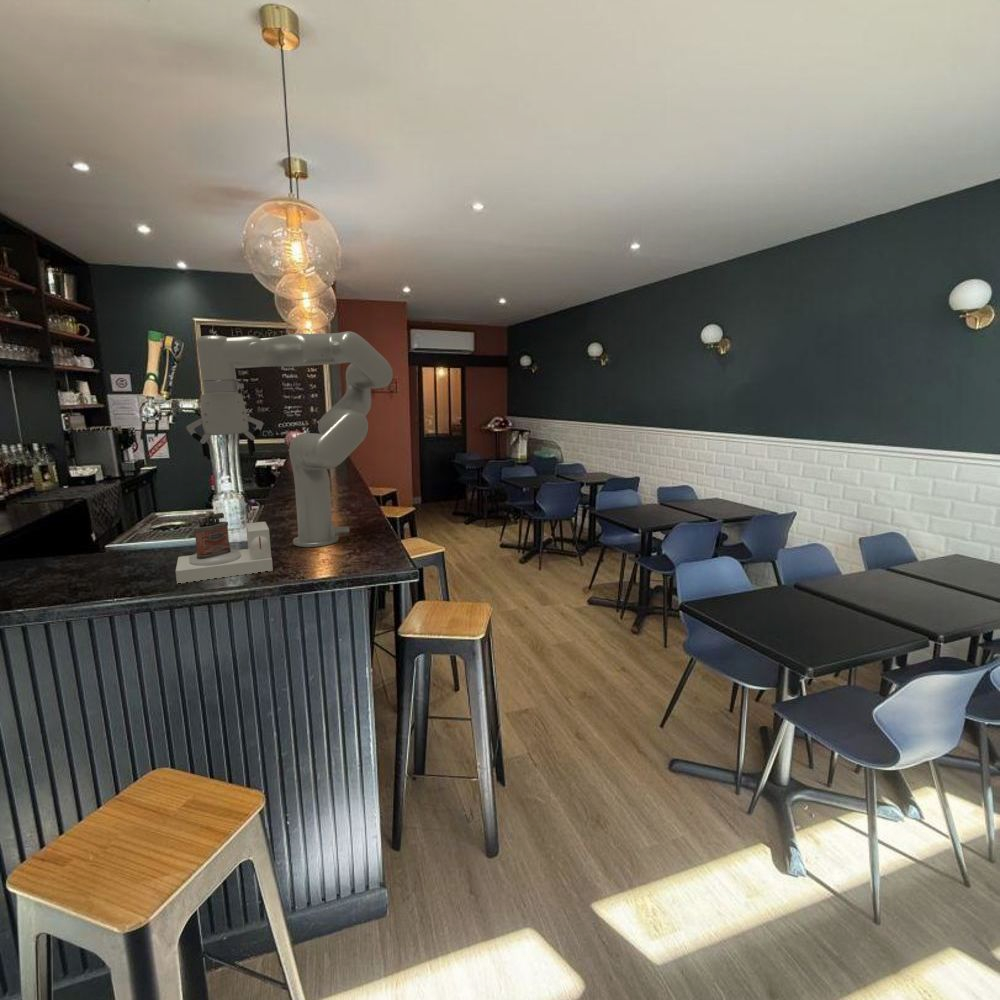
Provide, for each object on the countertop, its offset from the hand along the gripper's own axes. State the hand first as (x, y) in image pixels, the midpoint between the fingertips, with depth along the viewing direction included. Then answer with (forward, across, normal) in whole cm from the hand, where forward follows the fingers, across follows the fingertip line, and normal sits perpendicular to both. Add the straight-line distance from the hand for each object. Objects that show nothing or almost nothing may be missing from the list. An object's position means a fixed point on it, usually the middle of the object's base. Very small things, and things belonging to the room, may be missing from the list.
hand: (230, 457), depth 135 cm
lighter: (+22, +7, +9) cm, 25 cm away
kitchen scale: (+26, +5, +9) cm, 28 cm away
